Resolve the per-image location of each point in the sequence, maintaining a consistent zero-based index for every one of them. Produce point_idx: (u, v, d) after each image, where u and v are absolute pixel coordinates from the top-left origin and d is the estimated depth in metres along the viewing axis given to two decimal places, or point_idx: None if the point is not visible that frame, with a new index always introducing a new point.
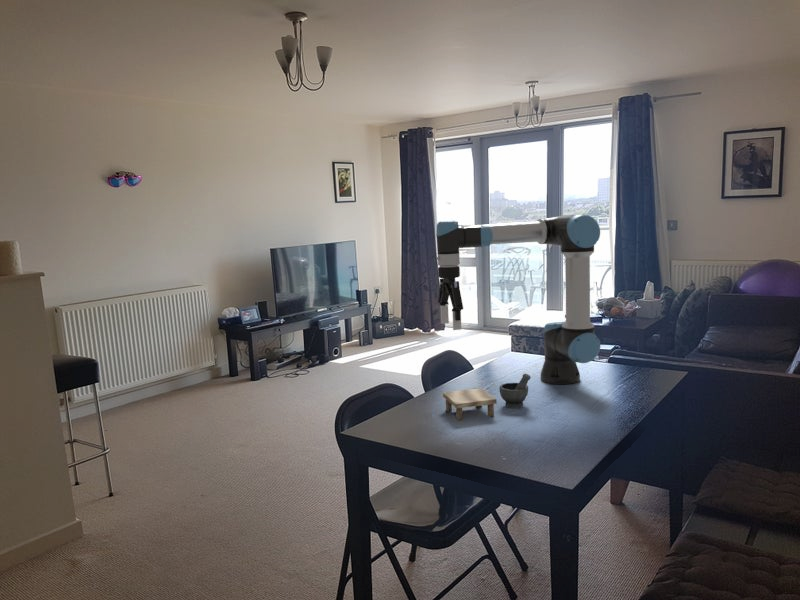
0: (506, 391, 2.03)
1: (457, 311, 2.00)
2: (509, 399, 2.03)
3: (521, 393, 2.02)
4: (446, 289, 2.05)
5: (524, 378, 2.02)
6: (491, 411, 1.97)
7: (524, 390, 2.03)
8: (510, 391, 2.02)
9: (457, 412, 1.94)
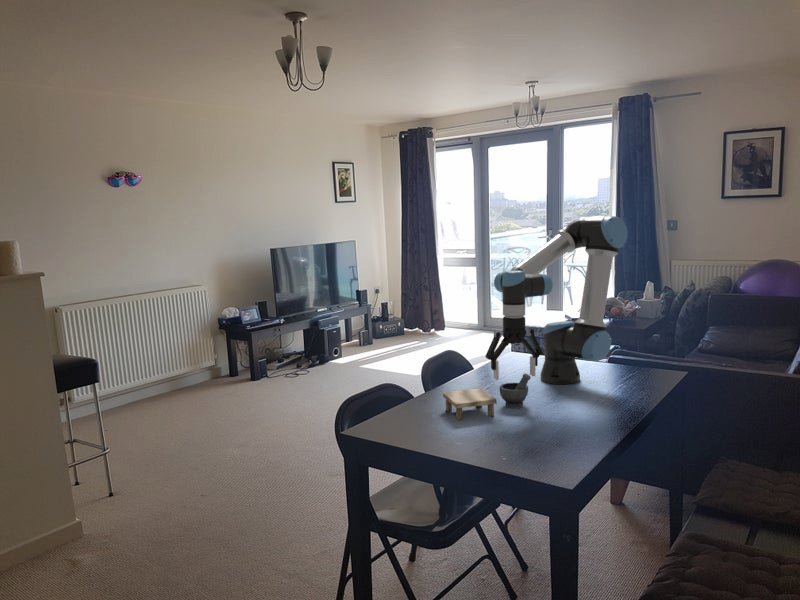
0: (506, 391, 2.03)
1: None
2: (509, 399, 2.03)
3: (521, 393, 2.02)
4: None
5: (524, 378, 2.02)
6: (491, 411, 1.97)
7: (524, 390, 2.03)
8: (510, 391, 2.02)
9: (457, 412, 1.94)
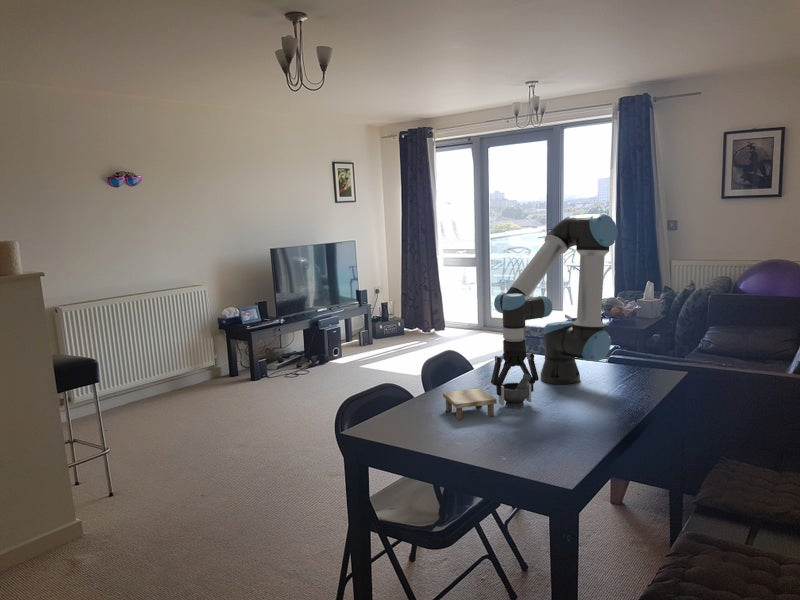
0: (506, 391, 2.03)
1: (496, 386, 2.05)
2: (510, 399, 2.03)
3: (521, 393, 2.02)
4: None
5: (524, 378, 2.02)
6: (491, 411, 1.97)
7: (524, 390, 2.03)
8: (510, 391, 2.02)
9: (457, 412, 1.94)
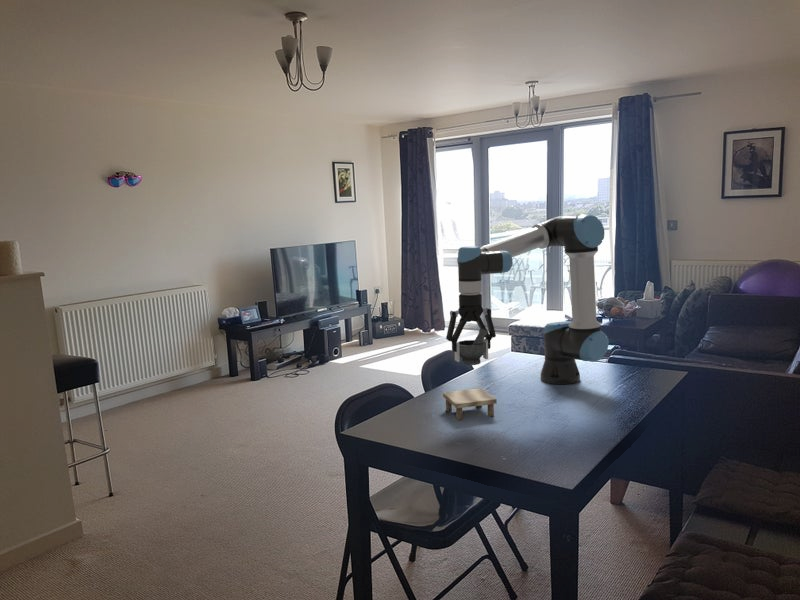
0: (462, 347, 1.96)
1: None
2: (465, 355, 1.96)
3: (477, 349, 1.95)
4: None
5: (480, 333, 1.95)
6: (491, 411, 1.97)
7: (480, 346, 1.96)
8: (466, 347, 1.95)
9: (457, 412, 1.94)
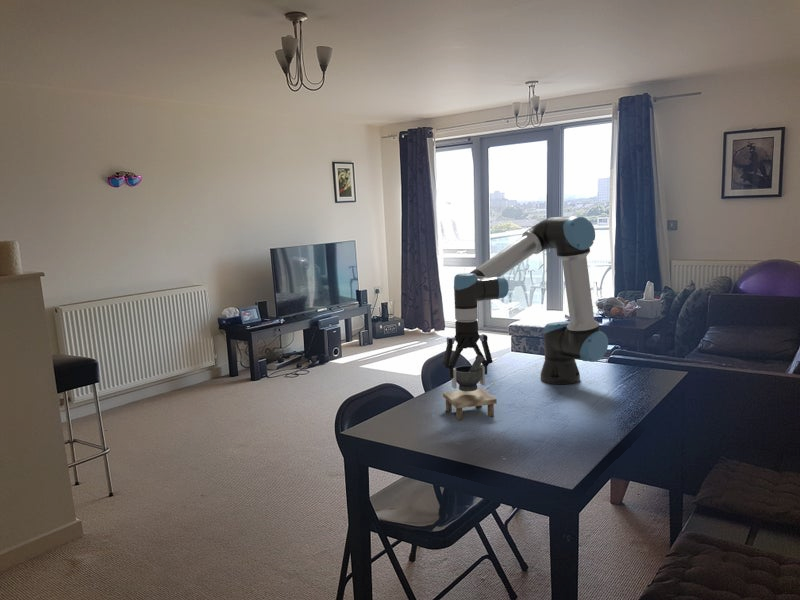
0: (459, 373, 1.97)
1: (448, 368, 1.98)
2: (462, 382, 1.97)
3: (474, 375, 1.96)
4: None
5: (477, 360, 1.96)
6: (491, 411, 1.97)
7: (477, 372, 1.97)
8: (462, 373, 1.96)
9: (457, 412, 1.94)
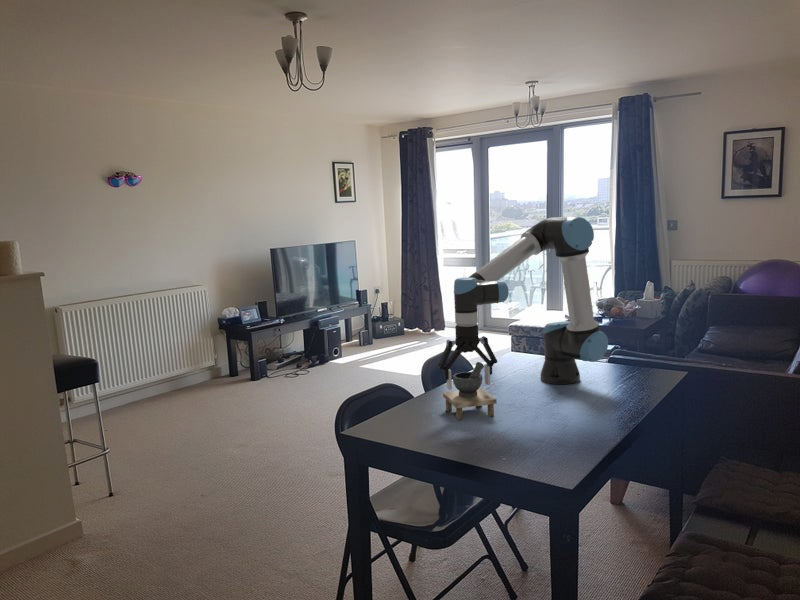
0: (459, 380, 1.97)
1: None
2: (462, 388, 1.98)
3: (474, 382, 1.96)
4: None
5: (477, 367, 1.96)
6: (491, 411, 1.97)
7: (477, 379, 1.97)
8: (462, 380, 1.96)
9: (457, 412, 1.94)
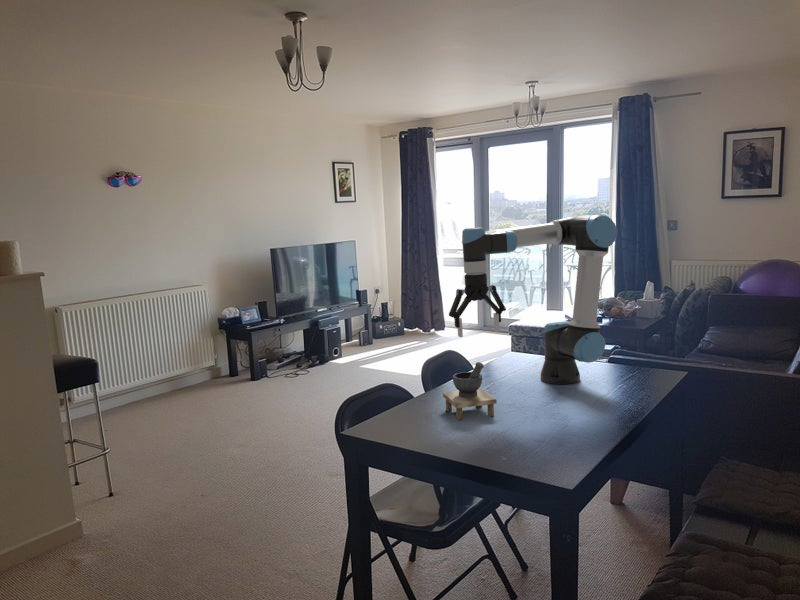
0: (458, 380, 1.97)
1: (454, 318, 2.04)
2: (462, 388, 1.98)
3: (474, 382, 1.96)
4: None
5: (477, 367, 1.96)
6: (491, 411, 1.97)
7: (477, 379, 1.97)
8: (462, 380, 1.96)
9: (457, 412, 1.94)
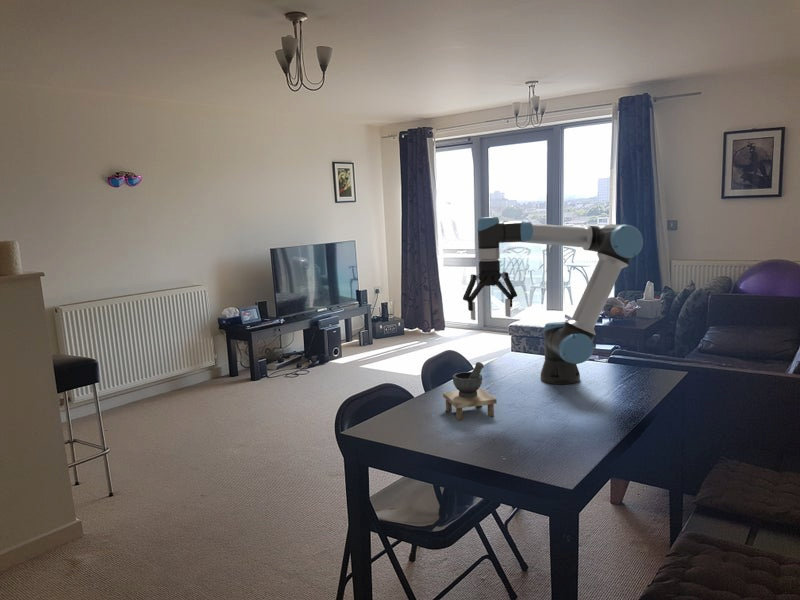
0: (458, 380, 1.97)
1: (468, 302, 2.15)
2: (462, 388, 1.98)
3: (474, 382, 1.96)
4: None
5: (477, 367, 1.96)
6: (491, 411, 1.97)
7: (477, 379, 1.97)
8: (462, 380, 1.96)
9: (457, 412, 1.94)
